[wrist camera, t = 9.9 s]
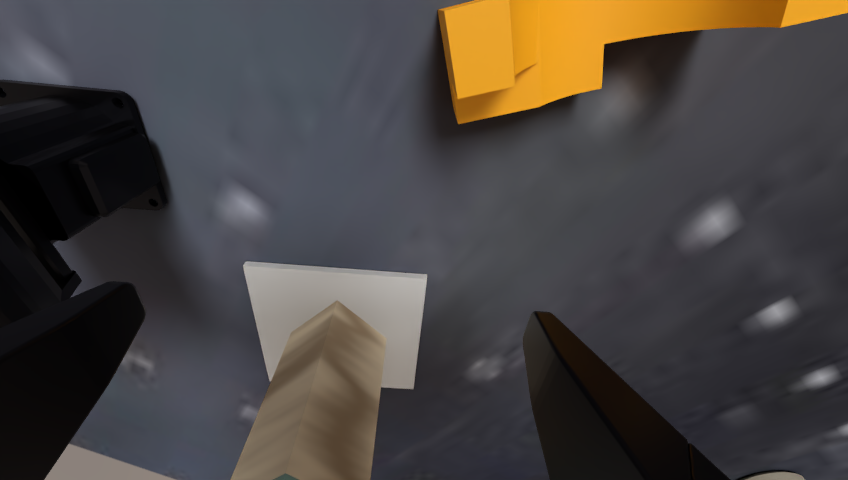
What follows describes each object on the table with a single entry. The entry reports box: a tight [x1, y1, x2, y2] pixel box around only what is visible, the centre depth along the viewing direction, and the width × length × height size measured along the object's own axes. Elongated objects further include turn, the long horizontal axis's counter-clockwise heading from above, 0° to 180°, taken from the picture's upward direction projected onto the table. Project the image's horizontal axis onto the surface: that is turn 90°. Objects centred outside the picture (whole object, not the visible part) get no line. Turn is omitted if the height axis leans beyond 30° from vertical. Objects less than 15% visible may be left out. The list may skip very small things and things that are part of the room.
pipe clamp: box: [438, 0, 848, 124], centre depth 14 cm, size 12×4×6 cm, turn 102°
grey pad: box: [243, 261, 427, 389], centre depth 27 cm, size 12×12×1 cm
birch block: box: [231, 300, 387, 480], centre depth 22 cm, size 5×5×12 cm
